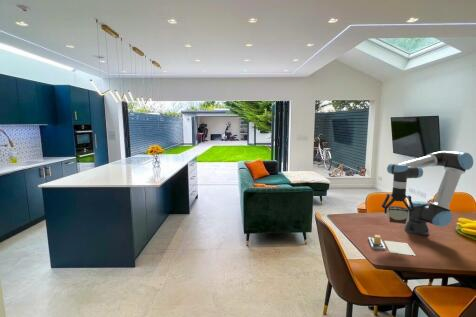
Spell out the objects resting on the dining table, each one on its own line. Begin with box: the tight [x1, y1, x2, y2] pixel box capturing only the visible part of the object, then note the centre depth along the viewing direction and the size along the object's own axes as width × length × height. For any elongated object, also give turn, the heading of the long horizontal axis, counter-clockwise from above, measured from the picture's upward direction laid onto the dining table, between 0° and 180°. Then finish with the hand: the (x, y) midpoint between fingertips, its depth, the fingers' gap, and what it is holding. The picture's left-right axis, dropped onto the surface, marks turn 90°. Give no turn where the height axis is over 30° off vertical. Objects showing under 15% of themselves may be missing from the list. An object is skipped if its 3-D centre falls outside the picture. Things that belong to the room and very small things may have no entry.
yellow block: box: [373, 234, 382, 245], centre depth 169 cm, size 3×4×5 cm
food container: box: [388, 205, 409, 225], centre depth 170 cm, size 12×6×10 cm, turn 70°
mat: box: [383, 240, 417, 257], centre depth 167 cm, size 14×18×1 cm
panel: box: [367, 236, 387, 251], centre depth 172 cm, size 8×15×2 cm, turn 161°
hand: (396, 219), depth 170 cm, fingers closed on food container, 11 cm apart
